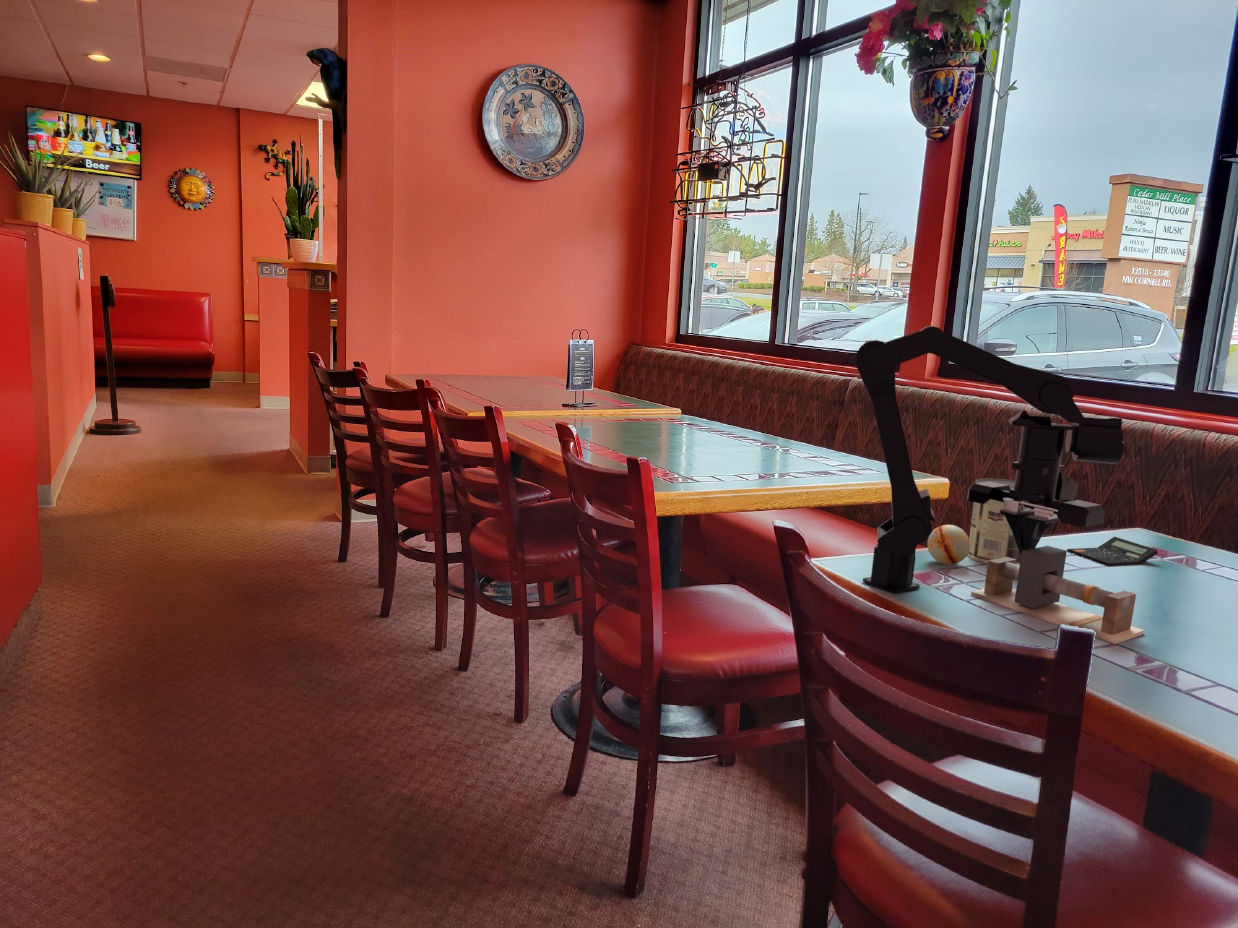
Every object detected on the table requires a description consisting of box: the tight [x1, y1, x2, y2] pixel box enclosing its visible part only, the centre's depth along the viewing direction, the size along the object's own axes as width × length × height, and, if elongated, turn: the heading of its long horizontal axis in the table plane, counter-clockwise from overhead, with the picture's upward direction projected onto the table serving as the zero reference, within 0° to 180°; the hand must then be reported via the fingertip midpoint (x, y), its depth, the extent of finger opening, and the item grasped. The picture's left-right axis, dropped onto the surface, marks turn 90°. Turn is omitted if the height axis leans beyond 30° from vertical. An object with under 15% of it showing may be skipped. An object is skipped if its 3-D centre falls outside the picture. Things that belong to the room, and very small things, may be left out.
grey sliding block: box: [1014, 545, 1068, 608], centre depth 129 cm, size 3×7×8 cm, turn 124°
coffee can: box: [966, 477, 1034, 565], centre depth 156 cm, size 10×10×14 cm
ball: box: [927, 524, 970, 566], centre depth 151 cm, size 7×7×7 cm
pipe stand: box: [970, 557, 1145, 645], centre depth 127 cm, size 22×8×6 cm, turn 34°
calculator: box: [1066, 536, 1158, 567], centre depth 162 cm, size 9×12×3 cm
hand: (1025, 558), depth 131 cm, fingers closed
